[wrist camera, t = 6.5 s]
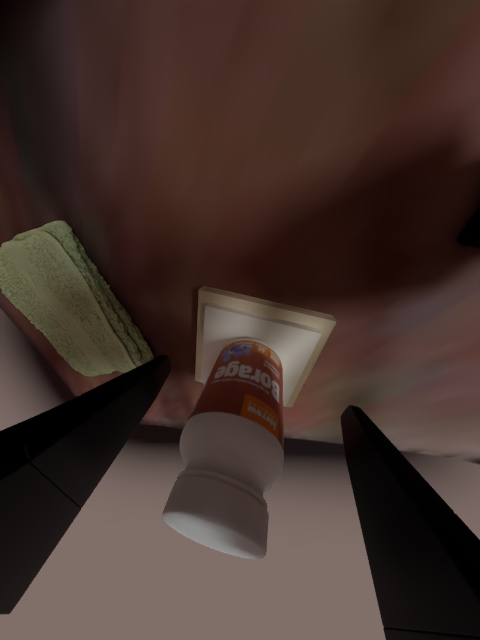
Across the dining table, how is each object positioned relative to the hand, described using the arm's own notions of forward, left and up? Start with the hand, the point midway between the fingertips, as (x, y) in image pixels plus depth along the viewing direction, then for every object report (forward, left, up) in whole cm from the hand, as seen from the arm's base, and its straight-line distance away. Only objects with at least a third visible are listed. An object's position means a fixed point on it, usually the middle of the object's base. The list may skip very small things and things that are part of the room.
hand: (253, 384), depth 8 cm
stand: (0, +5, -9) cm, 10 cm away
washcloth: (+21, +6, -10) cm, 24 cm away
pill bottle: (0, +5, -7) cm, 9 cm away
